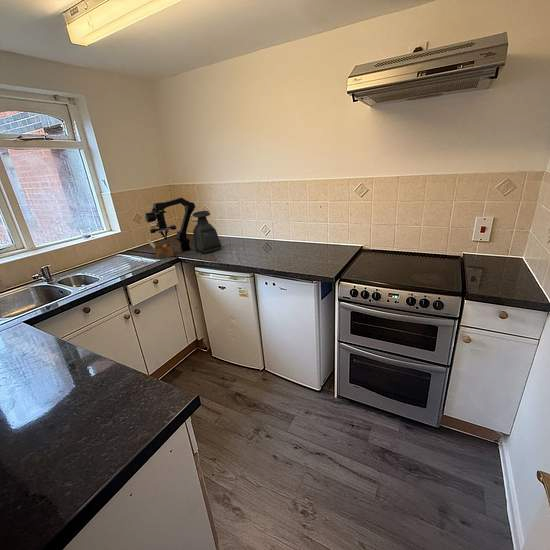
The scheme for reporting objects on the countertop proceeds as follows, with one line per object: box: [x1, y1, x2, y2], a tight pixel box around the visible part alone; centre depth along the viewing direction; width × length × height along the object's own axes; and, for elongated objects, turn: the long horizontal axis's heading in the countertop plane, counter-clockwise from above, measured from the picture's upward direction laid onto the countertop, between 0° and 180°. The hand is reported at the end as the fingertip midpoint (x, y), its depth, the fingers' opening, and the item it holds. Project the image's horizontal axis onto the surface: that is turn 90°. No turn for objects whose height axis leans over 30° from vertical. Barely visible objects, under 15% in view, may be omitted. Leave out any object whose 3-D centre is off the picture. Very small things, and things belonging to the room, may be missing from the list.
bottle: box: [191, 210, 222, 255], centre depth 228 cm, size 18×16×30 cm
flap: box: [147, 239, 156, 249], centre depth 227 cm, size 6×12×1 cm
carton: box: [154, 242, 176, 260], centre depth 232 cm, size 13×12×8 cm
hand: (166, 239), depth 230 cm, fingers closed
